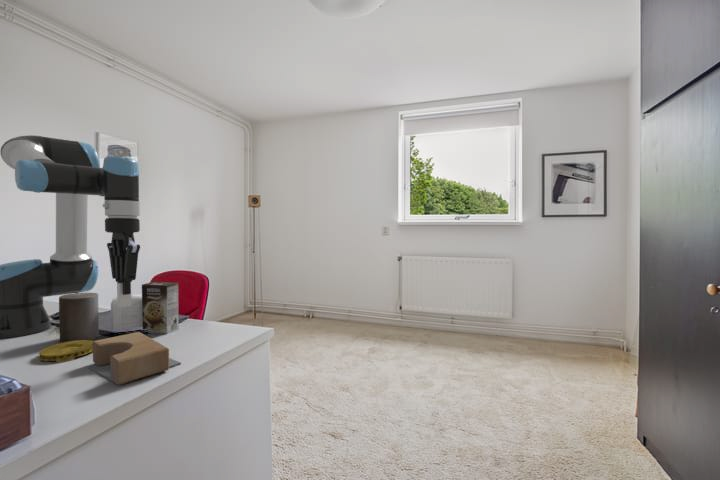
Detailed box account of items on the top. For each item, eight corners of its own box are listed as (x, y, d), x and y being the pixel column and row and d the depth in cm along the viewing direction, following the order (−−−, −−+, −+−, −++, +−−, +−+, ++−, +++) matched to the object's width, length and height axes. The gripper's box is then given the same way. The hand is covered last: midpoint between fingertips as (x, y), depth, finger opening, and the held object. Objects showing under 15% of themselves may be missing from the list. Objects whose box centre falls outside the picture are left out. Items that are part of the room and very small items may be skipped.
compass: (27, 361, 91) (27, 353, 91) (72, 346, 103) (72, 338, 103) (65, 365, 89) (64, 357, 89) (107, 348, 101) (106, 341, 101)
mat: (88, 367, 87) (88, 366, 87) (147, 350, 99) (147, 349, 99) (120, 385, 78) (120, 383, 78) (180, 364, 89) (180, 362, 89)
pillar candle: (54, 345, 102) (53, 295, 102) (66, 335, 111) (65, 289, 111) (94, 341, 106) (93, 293, 106) (103, 332, 115) (102, 287, 115)
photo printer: (147, 327, 121) (146, 292, 120) (148, 330, 117) (147, 294, 117) (111, 332, 115) (110, 295, 115) (110, 335, 112) (109, 297, 111)
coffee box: (141, 333, 114) (140, 284, 114) (155, 327, 121) (154, 281, 120) (167, 334, 113) (166, 285, 112) (179, 328, 120) (178, 281, 119)
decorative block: (92, 362, 89) (116, 385, 76) (91, 340, 89) (116, 360, 76) (140, 351, 98) (169, 370, 85) (140, 331, 98) (169, 347, 85)
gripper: (94, 216, 91) (97, 305, 93) (118, 217, 84) (120, 313, 86) (126, 217, 98) (128, 300, 99) (150, 217, 91) (152, 306, 92)
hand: (124, 306), depth 92 cm, fingers closed
